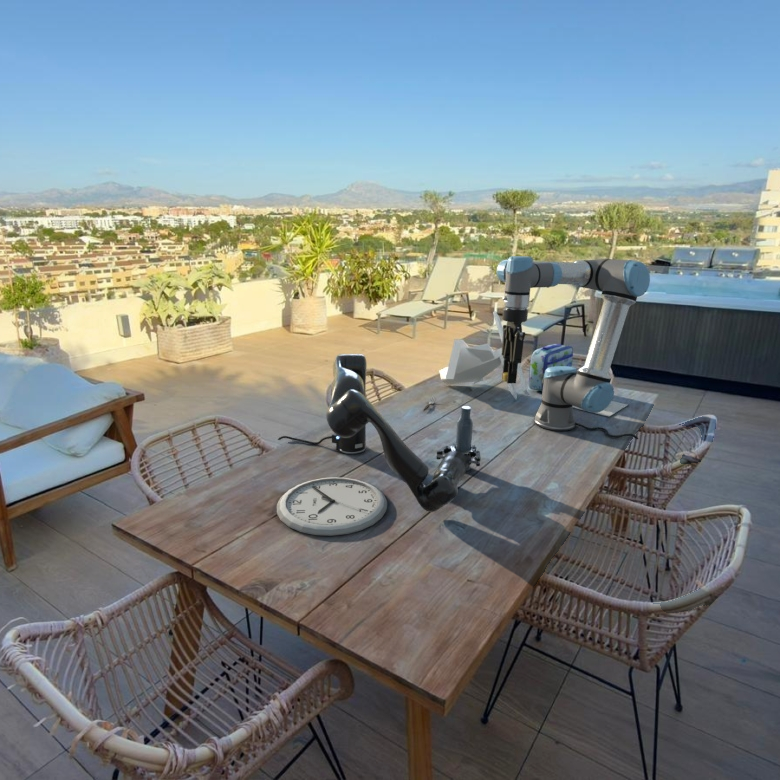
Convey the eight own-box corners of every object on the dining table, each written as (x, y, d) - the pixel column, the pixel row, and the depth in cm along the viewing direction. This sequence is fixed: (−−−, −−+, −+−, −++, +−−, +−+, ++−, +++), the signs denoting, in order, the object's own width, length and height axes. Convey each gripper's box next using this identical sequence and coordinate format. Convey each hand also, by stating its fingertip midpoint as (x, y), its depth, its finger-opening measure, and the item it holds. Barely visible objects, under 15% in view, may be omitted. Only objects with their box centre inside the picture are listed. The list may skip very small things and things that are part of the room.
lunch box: (545, 396, 239) (550, 351, 232) (524, 391, 246) (528, 347, 240) (572, 385, 256) (577, 343, 250) (552, 380, 263) (557, 339, 257)
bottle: (471, 470, 164) (476, 409, 158) (457, 472, 164) (461, 410, 157) (466, 464, 169) (470, 404, 163) (452, 465, 168) (456, 405, 162)
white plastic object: (461, 429, 252) (437, 405, 227) (444, 352, 274) (420, 323, 250) (535, 404, 240) (518, 377, 215) (510, 326, 262) (492, 293, 237)
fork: (420, 411, 216) (420, 406, 216) (430, 400, 230) (431, 395, 230) (426, 412, 215) (426, 407, 215) (436, 401, 230) (436, 396, 229)
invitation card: (608, 416, 214) (573, 407, 224) (608, 416, 214) (573, 408, 224) (628, 404, 229) (594, 396, 238) (628, 405, 229) (594, 397, 238)
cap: (512, 378, 170) (512, 371, 169) (517, 381, 166) (518, 375, 166) (500, 378, 169) (501, 372, 169) (505, 382, 165) (506, 375, 165)
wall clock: (392, 527, 129) (268, 531, 127) (391, 533, 130) (269, 537, 127) (383, 473, 158) (282, 475, 155) (383, 478, 158) (282, 480, 156)
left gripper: (477, 460, 148) (488, 438, 163) (429, 452, 153) (443, 432, 168) (475, 484, 150) (486, 460, 166) (428, 475, 155) (442, 453, 170)
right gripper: (495, 304, 168) (489, 374, 175) (513, 312, 152) (506, 388, 159) (517, 304, 169) (511, 373, 176) (538, 312, 153) (530, 388, 160)
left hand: (465, 446), depth 167 cm, fingers closed on bottle, 4 cm apart
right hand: (508, 380), depth 168 cm, fingers closed on cap, 4 cm apart
